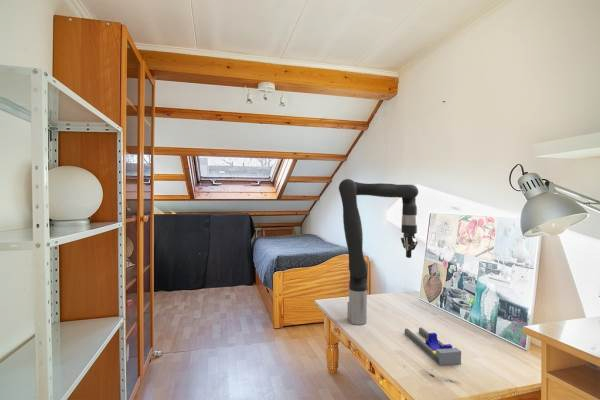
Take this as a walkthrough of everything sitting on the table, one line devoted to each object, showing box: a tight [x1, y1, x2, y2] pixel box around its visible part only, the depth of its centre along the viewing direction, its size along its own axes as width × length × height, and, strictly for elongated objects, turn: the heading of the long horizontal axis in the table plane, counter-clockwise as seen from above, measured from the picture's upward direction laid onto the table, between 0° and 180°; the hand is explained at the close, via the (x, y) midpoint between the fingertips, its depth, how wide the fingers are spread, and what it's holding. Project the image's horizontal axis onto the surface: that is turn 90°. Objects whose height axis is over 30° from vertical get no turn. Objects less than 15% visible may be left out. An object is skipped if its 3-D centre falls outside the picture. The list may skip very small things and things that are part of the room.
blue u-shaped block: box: [424, 332, 453, 351], centre depth 132 cm, size 12×4×6 cm, turn 10°
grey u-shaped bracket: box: [404, 327, 462, 367], centre depth 136 cm, size 9×28×5 cm, turn 10°
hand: (408, 257), depth 159 cm, fingers closed
